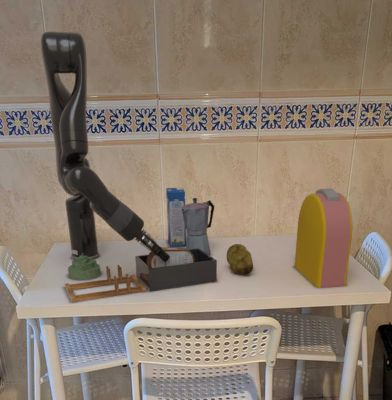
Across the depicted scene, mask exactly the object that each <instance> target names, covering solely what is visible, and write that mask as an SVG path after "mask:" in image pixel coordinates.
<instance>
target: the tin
mask: <svg viewBox="0 0 392 400" xmlns="http://www.w3.org/2000/svg"><path fill="white" fill-rule="evenodd" d="M161 247H162V250H163V251H165V252H166V253H167V254H168V255H169V256H170V258H169V259H168V260H167V261H166V262H165V261H164V260H162V259H161V258H160V257H159V256H158V255H155V254H154V252H153V251H149V253H148V254H149V255H148V254H147V255H148V257H147V266H148V267H149V268H157V267H164V266H172V265H180V264H187V263H195V258H194V255H193V254H192V253H191V252H190V251H189V250H188V249H187V248H186V247H170V246H161ZM156 249H157V248H156Z"/></svg>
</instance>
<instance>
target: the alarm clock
mask: <svg viewBox="0 0 392 400" xmlns="http://www.w3.org/2000/svg"><path fill="white" fill-rule="evenodd" d="M353 228H354V225H353V215H352V210H351V207H350V203H349V201H348V199H347V197H345V195H343V194H342V193H341V192H337V191H336V190H335V189H334V188H318V189H317V190H316V191H315V193H310V194H308V195H307V196H306V197H305V198H304V200H303V201H302V204H301V205H300V209H299V214H298V220H297V230H296V231H297V232H296V242H295V243H296V244H295V254H294V255H295V256H294V268H295V269H296V270H297V271H298V272H300V273H301V275H303V276H304V277H305V279H307V280H308V281H309V282H310V283H311V284H313V285H314V286H315V287H316V288H319V289H321V288H322V289H323V288H334V287H346V286H347V278H348V271H349V263H350V257H351V256H350V255H351V248H352V240H353Z"/></svg>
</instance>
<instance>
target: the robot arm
mask: <svg viewBox="0 0 392 400" xmlns="http://www.w3.org/2000/svg"><path fill="white" fill-rule="evenodd" d="M40 52H41V58H42V64H43V68H44V69H43V70H44V75H45V80H46V86H47V92H48V101H49V114H50V123H51V129H52V135H53V142H54V151H55V166H56V167H55V168H56V176H57V181H58V184H59V185H60V186H61V187H62V189H63V191H64V192H65V193H66V194H67V195H69V196H70V197H68V198H67V199H65V202H64V203H65V212H66V217H67V218H66V219H67V226H68V235H69V242H70V251H71V258H72V260H75V259H76V258H79V256H81V255H82V253H83V256H87V257H90V259H91V260H95V259H96V258H98V257H99V256H100V253H99V248H98V247H99V246H98V237H97V236H98V235H97V228H96V227H97V226H96V218H95V217H96V216H95V214H96V215H97V216H98V217H100V218H101V219H102V221H104V222H105V223H106V224H107V225H108V226H109V227H110V228H111V229H112V230H114V232H115V233H117V234H118V235H119V236H120V237H122V238H123V240H125V241H127V242H130V241H133V240H135V242H137V243H138V244H139V245H141V246H143V247H144V248H145V249H147V250H148V251H149V252H151V251H153V252H154V254H155V255H158V256H159V257H160V258H161V259H162V260H164V261H165V262H166V261H167V260H168V259H169V258H170V256H169V255H168V254H167V253H166V252H165V251H163V250H162V247H163V246H160V245H159V244H158V241H156V240H155V239H154V238H153V237H152V236H151V234H150V233H149V232H147V231H146V230H145V229H143V228H144V226H145V221H144V220H143V218H141V217H140V216H139V215H138V214H137V213H136V212H134V211H133V210H132V209H131V208H130V206H128V205H127V204H125V203H124V202H122V201H121V200H120V199H119V198H117V196H116V195H114V194H113V193H112V192H111V191H110V190H109V189H108V188H107V186H106V185H105V183H104V182H103V181H102V180H101V179H102V178H100V177H99V175H98V174H97V173H96V172H95V171H94V170H93V169H91V164H90V162H89V160H88V158H87V156H88V154H89V139H88V126H87V125H88V124H87V99H88V72H87V71H88V64H87V63H88V61H87V48H86V42H85V38H84V36H83V35H82V34H81V33H79V32H74V31H56V30H55V31H52V30H50V31H44V32H42V34H41V37H40ZM60 74H65V75H66V74H67V75H68V74H70V75H71V74H72V75H74V83H73V84H74V85H73V88H72V91H71V92H70V90H69V89H68V88H67V87H66V86H65V84H64V82H63V81H62V79H61V77H60ZM156 248H157V249H156Z"/></svg>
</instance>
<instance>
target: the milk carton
mask: <svg viewBox="0 0 392 400" xmlns="http://www.w3.org/2000/svg"><path fill="white" fill-rule="evenodd" d="M165 191H166V214H167V215H166V216H167V217H166V218H167V242H168V245H169V246H168V247H184V248H186V241H187V230H186V228H185V224H184V219H183V214H182V212H181V210H182V208H181V207H182V206H184V205H186V191H185V189H184V187H166V189H165Z"/></svg>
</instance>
